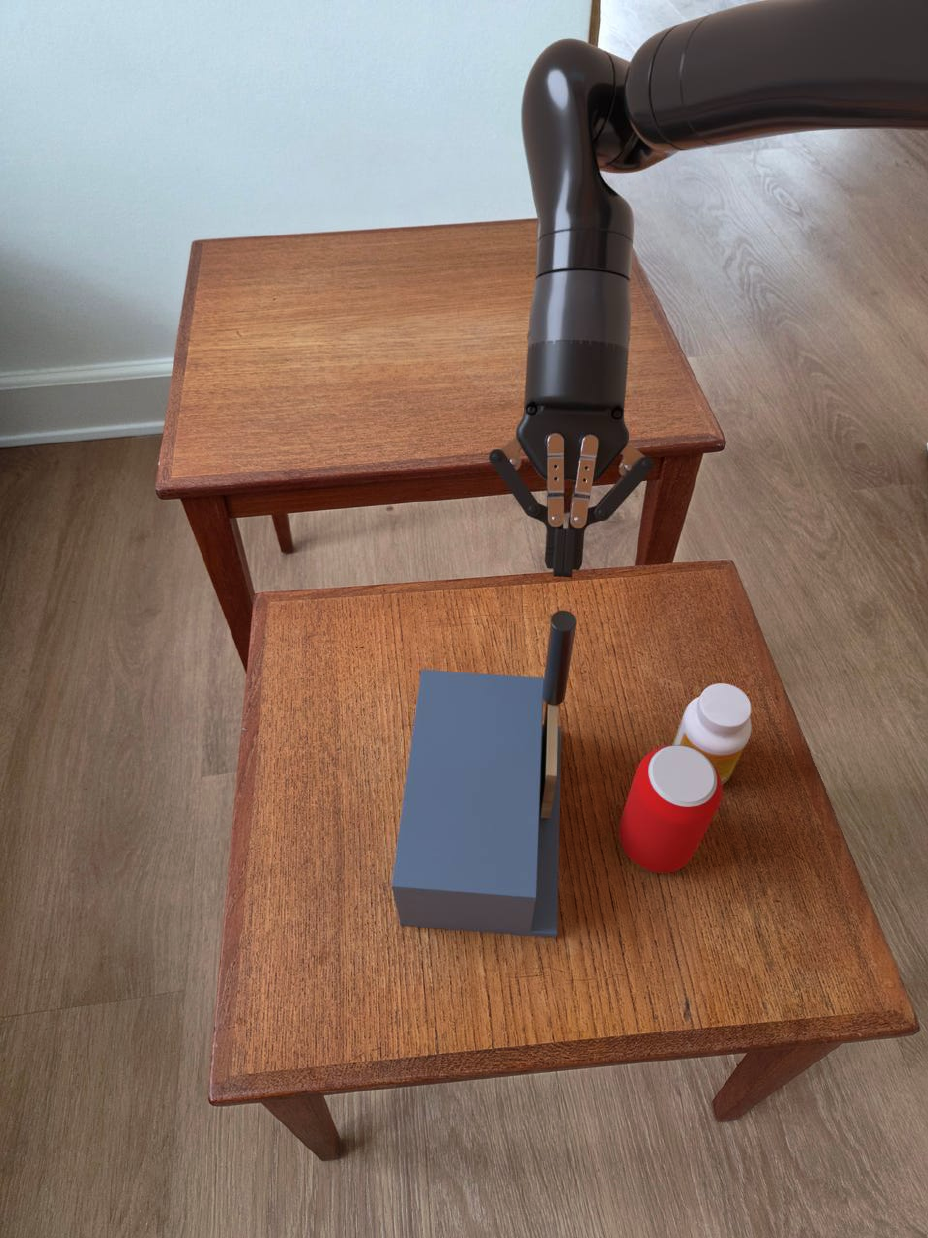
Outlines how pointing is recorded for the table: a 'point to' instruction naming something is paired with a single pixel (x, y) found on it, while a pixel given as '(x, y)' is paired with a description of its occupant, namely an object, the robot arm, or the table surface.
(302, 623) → the table surface
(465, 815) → the cabinet
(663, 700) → the table surface
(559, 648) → the brown flat handled piece
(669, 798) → the beverage can
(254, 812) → the table surface
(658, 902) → the table surface
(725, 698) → the supplement bottle
